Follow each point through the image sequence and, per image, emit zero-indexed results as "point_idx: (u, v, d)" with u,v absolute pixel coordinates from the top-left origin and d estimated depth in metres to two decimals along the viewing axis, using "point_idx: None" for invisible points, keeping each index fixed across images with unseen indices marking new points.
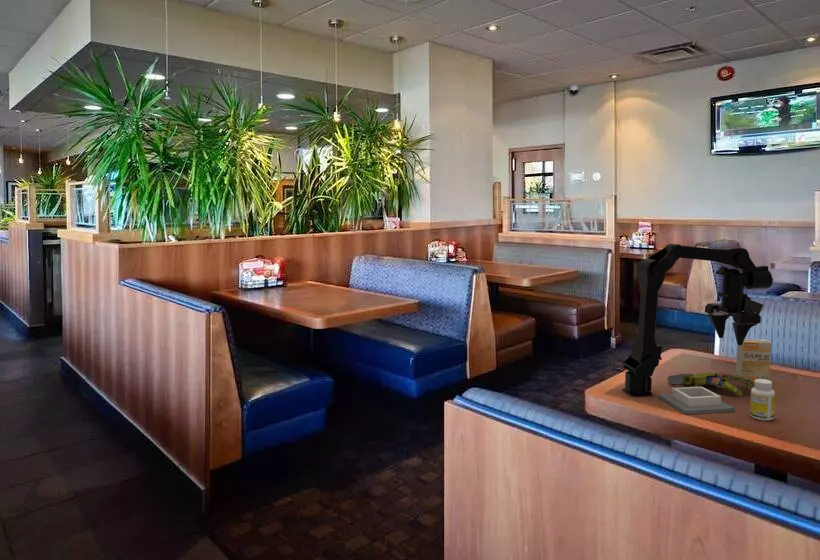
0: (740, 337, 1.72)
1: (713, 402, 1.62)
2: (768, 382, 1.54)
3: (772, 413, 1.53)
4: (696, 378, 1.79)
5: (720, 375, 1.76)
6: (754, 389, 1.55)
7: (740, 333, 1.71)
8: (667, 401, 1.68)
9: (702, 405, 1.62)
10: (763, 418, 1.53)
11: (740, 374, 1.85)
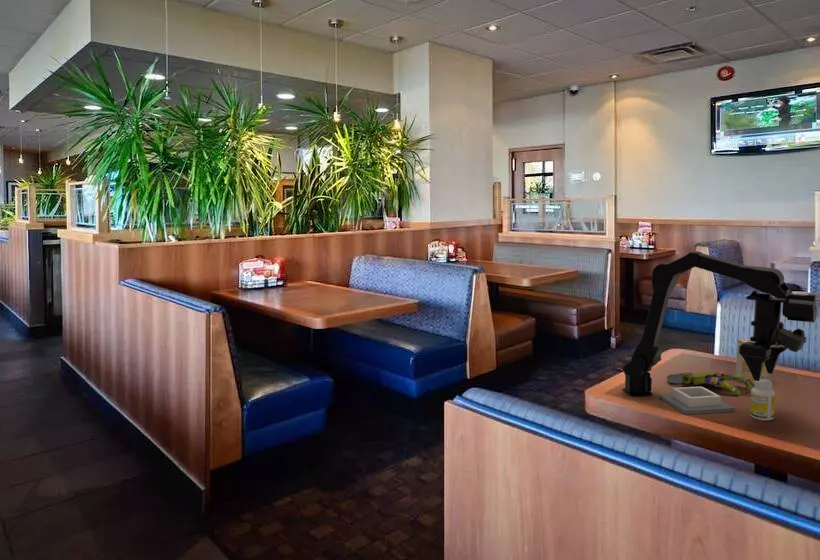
0: (754, 371, 1.51)
1: (713, 402, 1.62)
2: (768, 382, 1.54)
3: (772, 413, 1.53)
4: (695, 377, 1.79)
5: (719, 374, 1.76)
6: (754, 389, 1.55)
7: (752, 366, 1.51)
8: (667, 401, 1.68)
9: (702, 405, 1.62)
10: (763, 418, 1.53)
11: (740, 374, 1.85)
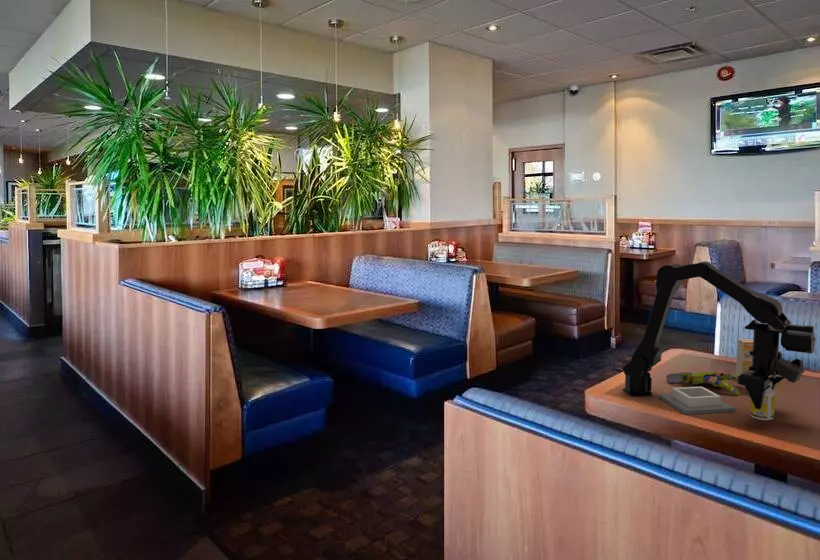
0: (755, 399, 1.53)
1: (713, 402, 1.62)
2: None
3: (772, 413, 1.53)
4: (694, 377, 1.80)
5: (718, 374, 1.77)
6: None
7: (753, 394, 1.53)
8: (667, 401, 1.68)
9: (702, 405, 1.62)
10: (763, 418, 1.53)
11: (740, 374, 1.85)
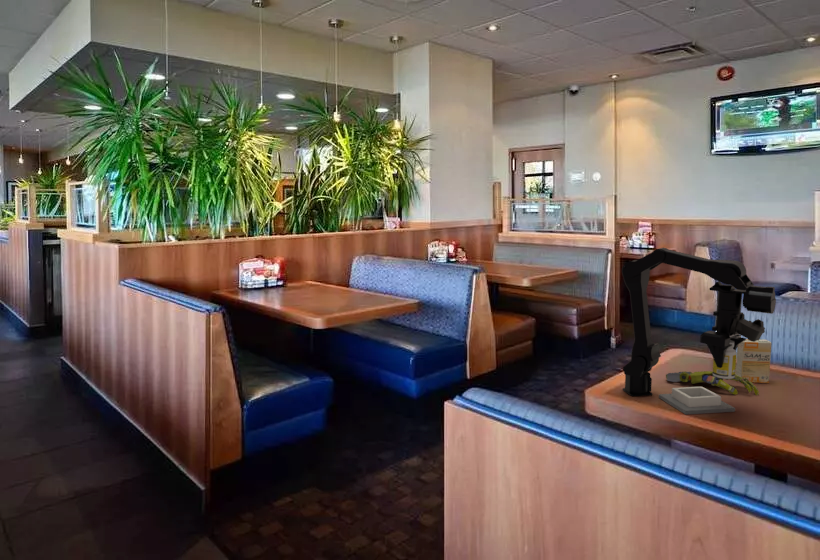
0: (717, 358, 1.58)
1: (713, 402, 1.62)
2: (730, 341, 1.58)
3: (733, 372, 1.58)
4: (692, 376, 1.81)
5: None
6: None
7: (715, 353, 1.58)
8: (667, 401, 1.68)
9: (702, 405, 1.62)
10: (724, 376, 1.58)
11: (740, 374, 1.85)
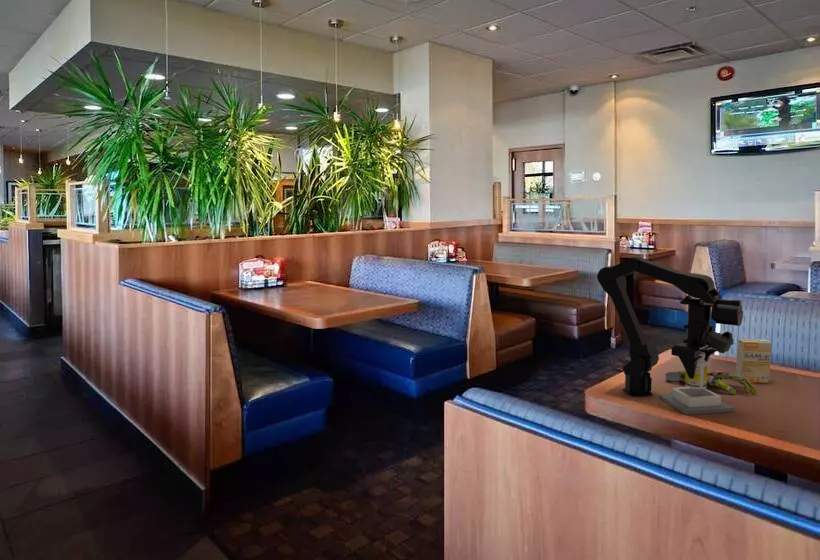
0: (688, 369, 1.63)
1: (713, 402, 1.62)
2: (701, 353, 1.64)
3: (704, 382, 1.63)
4: None
5: (715, 373, 1.78)
6: None
7: (687, 365, 1.63)
8: (667, 401, 1.68)
9: (702, 405, 1.62)
10: (696, 387, 1.63)
11: (740, 374, 1.85)
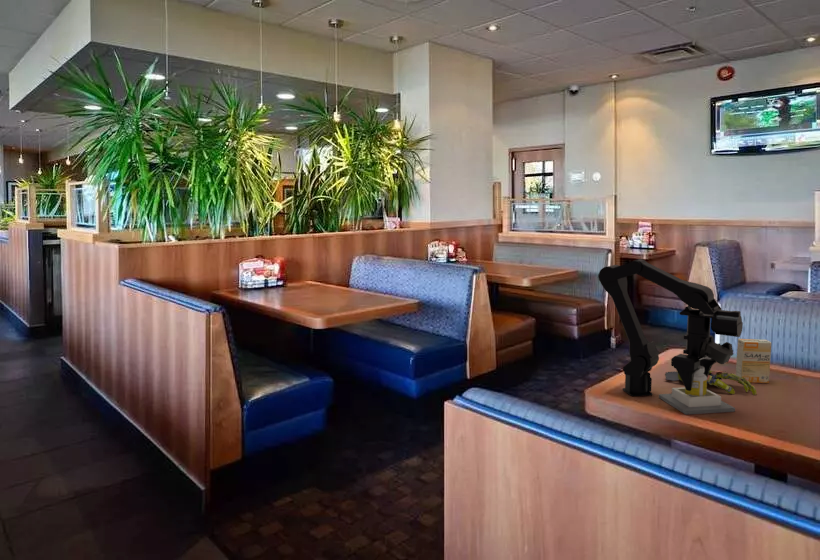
0: (686, 381, 1.62)
1: (713, 402, 1.62)
2: (700, 367, 1.64)
3: None
4: None
5: (714, 373, 1.78)
6: None
7: (684, 377, 1.62)
8: (667, 401, 1.68)
9: (702, 405, 1.62)
10: None
11: (740, 374, 1.85)
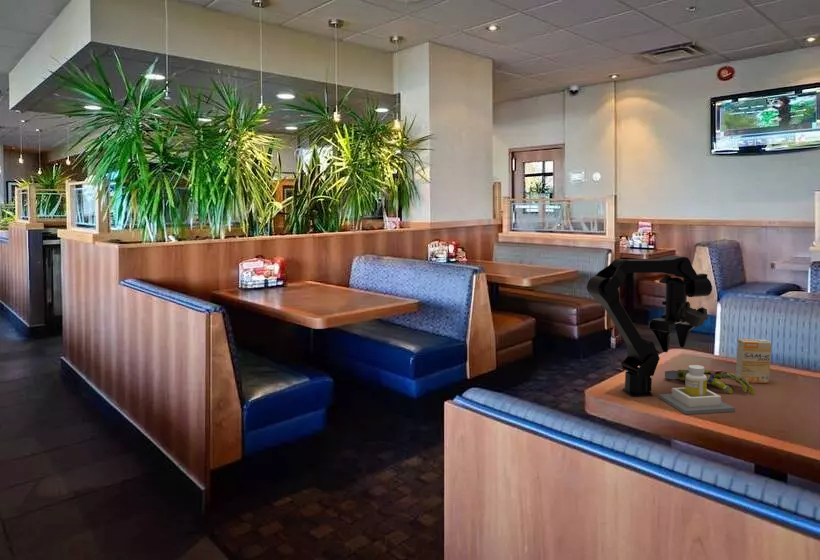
0: (662, 343, 1.75)
1: (713, 402, 1.62)
2: (700, 367, 1.64)
3: None
4: None
5: (712, 372, 1.79)
6: (688, 374, 1.65)
7: (661, 339, 1.75)
8: (667, 401, 1.68)
9: (702, 405, 1.62)
10: None
11: (740, 374, 1.85)
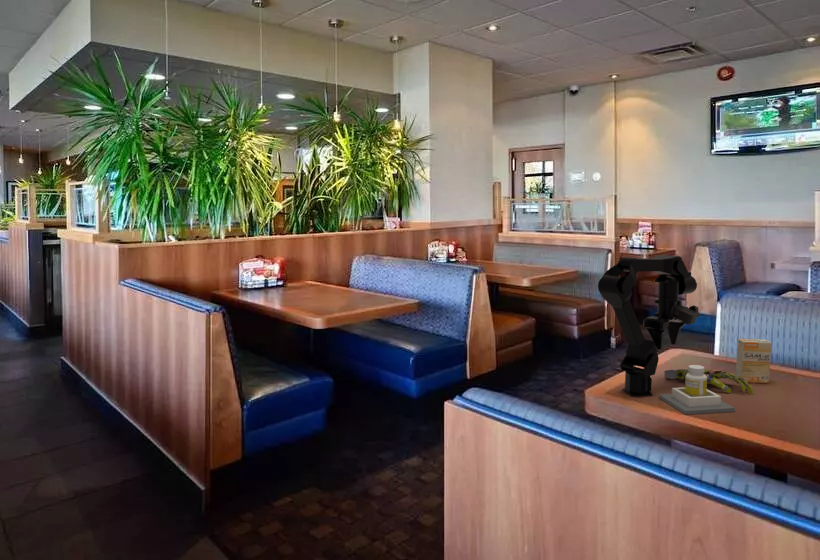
0: (656, 341, 1.79)
1: (713, 402, 1.62)
2: (700, 367, 1.64)
3: None
4: None
5: (711, 372, 1.79)
6: (688, 374, 1.66)
7: (654, 337, 1.79)
8: (667, 401, 1.68)
9: (702, 405, 1.62)
10: None
11: (740, 374, 1.85)
